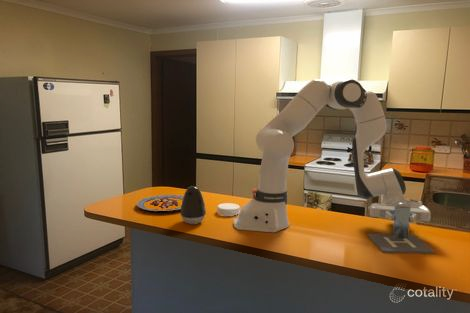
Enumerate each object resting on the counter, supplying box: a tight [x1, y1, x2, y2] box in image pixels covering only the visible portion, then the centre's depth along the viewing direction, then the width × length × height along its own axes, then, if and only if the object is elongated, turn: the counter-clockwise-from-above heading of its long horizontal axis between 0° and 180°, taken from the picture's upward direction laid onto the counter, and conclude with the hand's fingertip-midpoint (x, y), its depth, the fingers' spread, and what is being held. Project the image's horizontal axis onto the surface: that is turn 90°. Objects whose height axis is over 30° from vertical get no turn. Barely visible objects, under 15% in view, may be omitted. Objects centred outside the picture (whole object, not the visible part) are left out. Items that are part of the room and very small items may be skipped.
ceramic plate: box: [136, 194, 184, 212], centre depth 170 cm, size 26×26×3 cm
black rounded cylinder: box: [180, 185, 207, 225], centre depth 147 cm, size 10×10×15 cm
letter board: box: [367, 233, 436, 255], centre depth 128 cm, size 17×15×1 cm
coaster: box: [216, 202, 241, 217], centre depth 161 cm, size 10×10×4 cm
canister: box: [392, 201, 411, 239], centre depth 126 cm, size 5×5×12 cm
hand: (402, 219), depth 125 cm, fingers closed on canister, 5 cm apart
